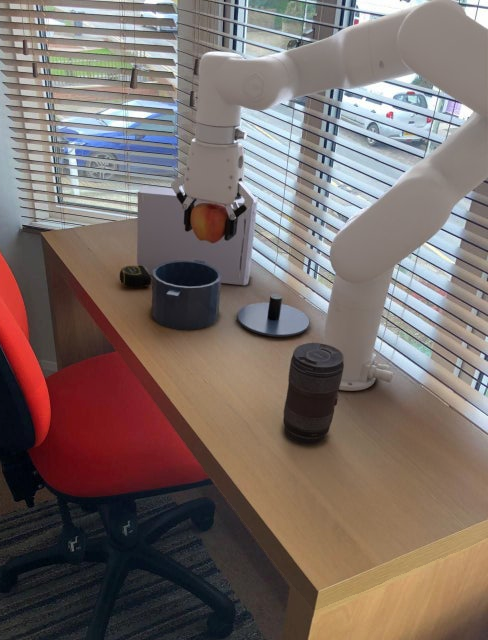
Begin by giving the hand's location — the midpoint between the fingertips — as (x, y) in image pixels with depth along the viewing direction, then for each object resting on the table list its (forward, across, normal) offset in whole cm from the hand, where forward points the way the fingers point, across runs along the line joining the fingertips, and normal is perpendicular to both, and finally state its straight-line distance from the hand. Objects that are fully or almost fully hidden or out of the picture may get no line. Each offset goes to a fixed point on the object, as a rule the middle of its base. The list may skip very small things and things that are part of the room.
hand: (209, 233), depth 121 cm
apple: (+2, 0, 0) cm, 2 cm away
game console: (+22, +15, -28) cm, 39 cm away
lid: (+21, -10, -14) cm, 28 cm away
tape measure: (+22, +24, -16) cm, 37 cm away
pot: (+22, +8, -8) cm, 25 cm away
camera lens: (+22, -29, +21) cm, 42 cm away
